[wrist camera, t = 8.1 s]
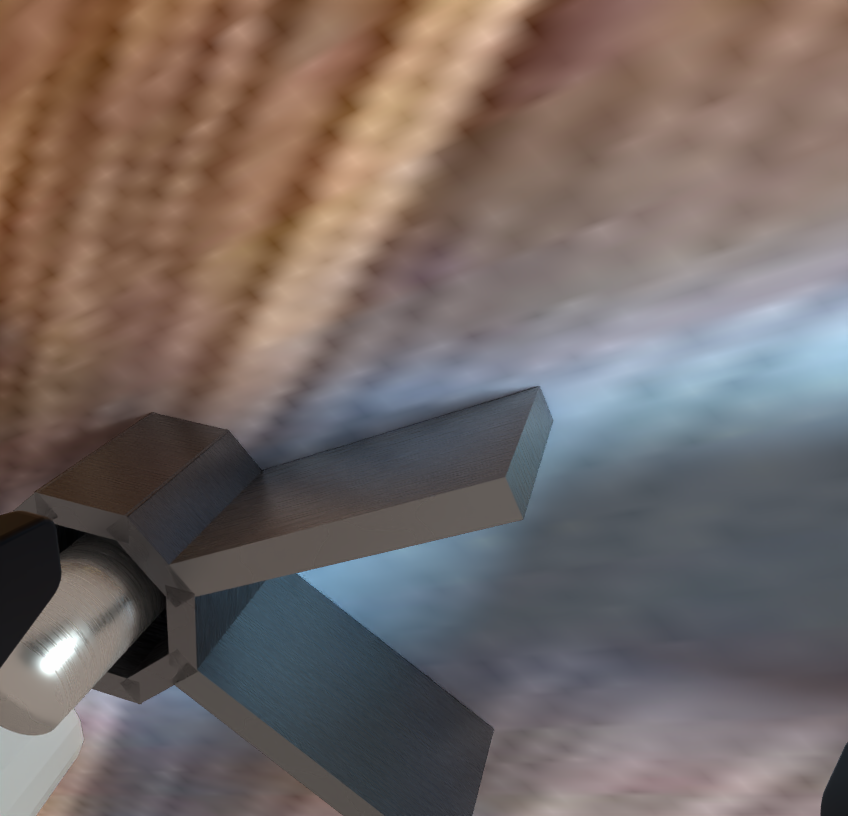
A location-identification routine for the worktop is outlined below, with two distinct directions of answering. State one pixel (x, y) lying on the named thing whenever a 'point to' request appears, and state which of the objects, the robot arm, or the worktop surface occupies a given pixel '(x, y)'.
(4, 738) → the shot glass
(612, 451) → the worktop surface
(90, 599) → the hinge pin
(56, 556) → the robot arm
